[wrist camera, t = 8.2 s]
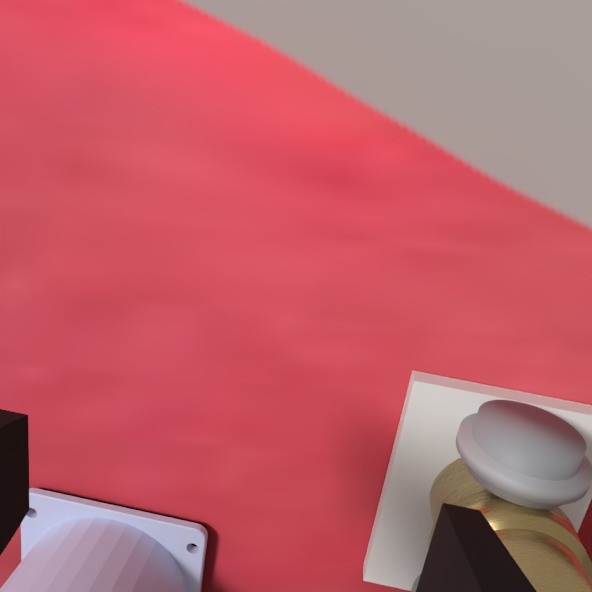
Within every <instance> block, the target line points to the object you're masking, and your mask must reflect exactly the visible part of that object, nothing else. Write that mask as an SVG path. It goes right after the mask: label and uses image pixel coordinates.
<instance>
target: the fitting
mask: <svg viewBox="0 0 592 592" xmlns="http://www.w3.org/2000/svg"><path fill="white" fill-rule="evenodd" d="M459 458H462V459H463V460H464V463H465V466H466V468H467V470H468V471H469V473H470V474H471V476H472V477H473V478H474V479H475V480H476V481H477V482H478V483H479V484H480V485H482V486H483V487H484V488H486V489H487V490H489V491H490V492H492V493H493V494H495V495H497V496H499V497H500V498H503V499H505V500H507V501H509V502H512V503H514V504H517V505H520V506H524V507H528V508H534V509H553V508H557V507H559V508H560V509H561V510H562V511H563V512H564V513H565V514H566V515H567V517H568V518H569V519H570V521H571V523H572V525H573V527H574V528H575V530H576V532H577V533H578V531H579V528H580V526H581V523H582V521H583V518H584V516H585V513H586V511H587V509H588V506H589V504H590V501H591V499H592V405H588V404H583V403H578V402H573V401H568V400H563V399H557V398H552V397H547V396H542V395H537V394H532V393H527V392H521V391H516V390H511V389H506V388H501V387H496V386H491V385H485V384H480V383H475V382H470V381H465V380H460V379H454V378H449V377H444V376H439V375H434V374H429V373H424V372H418V371H413V370H412V374H411V378H410V382H409V386H408V390H407V394H406V398H405V402H404V406H403V410H402V414H401V418H400V421H399V425H398V429H397V433H396V437H395V441H394V445H393V449H392V453H391V457H390V461H389V465H388V469H387V473H386V477H385V481H384V485H383V489H382V493H381V497H380V501H379V505H378V509H377V513H376V517H375V521H374V525H373V529H372V533H371V537H370V540H369V544H368V548H367V552H366V556H365V560H364V564H363V581H367V582H372V583H377V584H381V585H386V586H390V587H395V588H399V589H404V590H408V591H411V592H416V589H417V586H418V582H419V579H420V576H421V573H422V569H423V566H424V563H425V559H426V556H427V553H428V549H429V537H430V533H431V530H432V528H433V519H432V513H431V508H430V491H431V487H432V485H433V482H434V480H435V479H436V477H437V476H438V474H439V473H440V472H441V471H442V470H443V469H444V468H445V467H446V466H447V465H449V464H450V463H452V462H453V461H455V460H457V459H459Z"/></svg>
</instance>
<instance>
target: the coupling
mask: <svg viewBox="0 0 592 592" xmlns="http://www.w3.org/2000/svg"><path fill="white" fill-rule="evenodd" d="M442 503H447V504H452V505H457V506H461V507H466V508H471V509H476V510H480V511H481V513H482V514H483V515H484V517H485V518H486V520H487V521H488V522H489V524H490V525H491V527H492V528H493V530H494V531H495V533H496V534H497V535H498V537H499V538H500V540H501V541H502V543H503V544H504V546H505V547H506V549H507V550H508V551H509V553H510V554H511V556H512V557H513V559H514V560H515V562H516V563H517V564H518V566H519V567H520V569H521V570H522V571H523V573H524V574H525V576H526V577H527V579H528V580H529V581H530V583H531V584H532V586H533V587H534V588H535V590H536V591H537V592H592V562H591V560H590V558H589V556H588V554H587V552H586V550H585V548H584V546H583V544H582V542H581V540H580V538H579V536H578V534H577V532H576V530H575V528H574V527H573V525H572V523H571V521H570V519H569V518H568V517H567V515H566V514H565V513H564V512H563V511H562V510H561V509H560V508H559V507H557V508H553V509H534V508H528V507H524V506H520V505H517V504H514V503H512V502H509V501H507V500H505V499H503V498H500V497H499V496H497V495H495V494H493V493H492V492H490V491H489V490H487V489H486V488H484V487H483V486H482V485H480V484H479V483H478V482H477V481H476V480H475V479H474V478H473V477H472V476H471V474H470V473H469V471H468V470H467V468H466V466H465V463H464V460H463V459H462V458H459V459H457V460H455V461H453V462H452V463H450V464H449V465H447V466H446V467H445V468H444V469H443V470H442V471H441V472H440V473H439V474H438V476H437V477H436V479H435V480H434V482H433V485H432V487H431V491H430V508H431V513H432V519H433V528H432V530H431V533H430V537H429V546H430V543H431V539H432V536H433V533H434V530H435V526H436V523H437V520H438V516H439V513H440V510H441V506H442Z"/></svg>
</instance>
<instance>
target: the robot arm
mask: <svg viewBox="0 0 592 592" xmlns="http://www.w3.org/2000/svg"><path fill="white" fill-rule="evenodd" d="M32 508H33V509H35V510H36V511H34V510H33V509H32ZM20 524H21V559H22V562H21V563H20V564H19V565H18V567H17V568H16V569H15V571H14V572H13V573H12V575H11V576H10V577H9V578H8V580H7V581H6V582H5V584H4V585H3V586H2V587H1V589H0V592H201V587H202V579H203V571H204V563H205V555H206V547H207V539H208V532H207V530H206V528H205V527H204V526H202V525H200V524H198V523H193V522H189V521H184V520H180V519H175V518H171V517H166V516H161V515H157V514H152V513H148V512H143V511H139V510H134V509H129V508H125V507H120V506H116V505H111V504H106V503H102V502H97V501H93V500H88V499H84V498H79V497H74V496H70V495H65V494H61V493H56V492H52V491H47V490H42V489H38V488H30V489H29V452H28V415H25V414H20V413H15V412H11V411H6V410H1V409H0V555H1V553H2V552H3V550H4V549H5V547H6V546H7V545H8V543H9V542H10V540H11V538H12V537H13V535H14V534H15V532H16V530H17V529H18V527H19V526H20ZM191 544H195V545H197V546H198V547H195V546H193V545H191ZM416 592H537V591H536V590H535V588H534V587H533V586H532V584H531V583H530V581H529V580H528V579H527V577H526V576H525V574H524V573H523V571H522V570H521V569H520V567H519V566H518V564H517V563H516V562H515V560H514V559H513V557H512V556H511V554H510V553H509V551H508V550H507V549H506V547H505V546H504V544H503V543H502V541H501V540H500V538H499V537H498V535H497V534H496V533H495V531H494V530H493V528H492V527H491V525H490V524H489V522H488V521H487V520H486V518H485V517H484V515H483V514H482V513H481V511H480V510H476V509H471V508H466V507H461V506H457V505H452V504H447V503H442V506H441V510H440V513H439V516H438V520H437V523H436V526H435V530H434V533H433V536H432V539H431V543H430V546H429V549H428V553H427V556H426V559H425V563H424V566H423V569H422V573H421V576H420V579H419V582H418V586H417V589H416Z"/></svg>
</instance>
